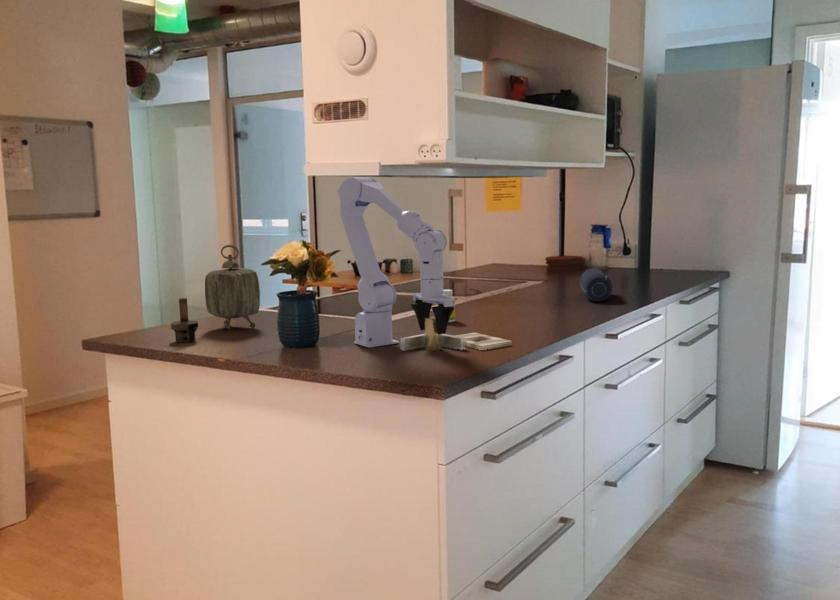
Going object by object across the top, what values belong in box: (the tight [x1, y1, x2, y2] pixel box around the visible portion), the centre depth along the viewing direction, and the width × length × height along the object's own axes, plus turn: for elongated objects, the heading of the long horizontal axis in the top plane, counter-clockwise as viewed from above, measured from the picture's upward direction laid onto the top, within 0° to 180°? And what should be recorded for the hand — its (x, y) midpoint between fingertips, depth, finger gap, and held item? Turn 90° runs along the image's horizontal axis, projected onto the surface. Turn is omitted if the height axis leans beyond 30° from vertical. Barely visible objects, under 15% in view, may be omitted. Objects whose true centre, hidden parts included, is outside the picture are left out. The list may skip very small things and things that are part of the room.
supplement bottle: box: [437, 289, 456, 323], centre depth 237 cm, size 5×5×10 cm
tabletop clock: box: [204, 244, 261, 331], centre depth 231 cm, size 14×9×25 cm, turn 59°
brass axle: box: [424, 316, 442, 351], centre depth 197 cm, size 4×4×8 cm
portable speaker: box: [579, 267, 614, 302], centre depth 280 cm, size 25×10×10 cm, turn 173°
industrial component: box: [170, 297, 199, 343], centre depth 214 cm, size 9×7×12 cm
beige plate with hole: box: [455, 332, 513, 351], centre depth 203 cm, size 15×10×1 cm, turn 34°
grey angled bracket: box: [399, 333, 466, 352], centre depth 200 cm, size 9×16×3 cm, turn 87°
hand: (432, 331), depth 197 cm, fingers open, 7 cm apart
